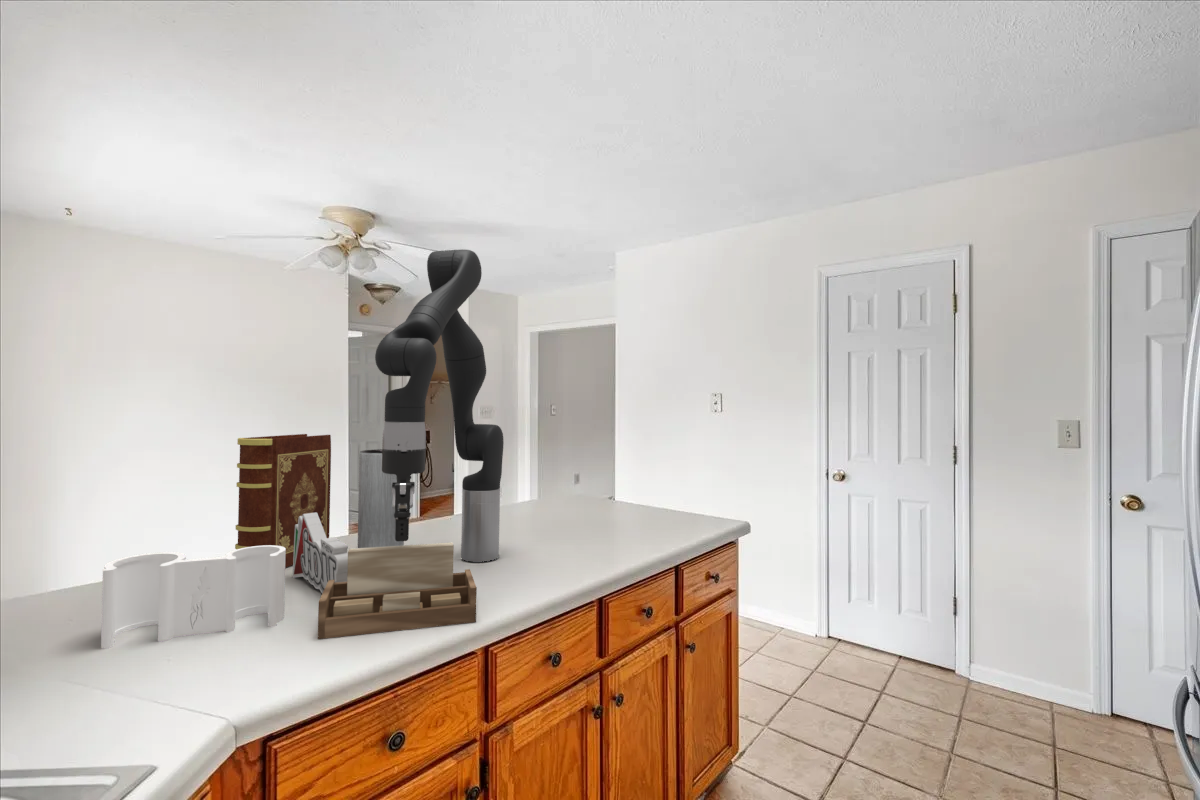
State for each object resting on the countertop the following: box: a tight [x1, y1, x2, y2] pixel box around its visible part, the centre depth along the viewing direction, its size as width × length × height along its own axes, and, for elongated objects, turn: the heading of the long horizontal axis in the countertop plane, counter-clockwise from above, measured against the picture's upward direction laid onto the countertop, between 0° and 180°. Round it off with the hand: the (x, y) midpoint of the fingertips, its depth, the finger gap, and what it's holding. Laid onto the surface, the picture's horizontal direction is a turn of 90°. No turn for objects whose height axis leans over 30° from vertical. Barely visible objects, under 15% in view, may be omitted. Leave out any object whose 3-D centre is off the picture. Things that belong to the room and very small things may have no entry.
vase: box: [357, 448, 405, 548], centre depth 130 cm, size 10×10×27 cm
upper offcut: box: [383, 592, 420, 611], centre depth 97 cm, size 3×6×2 cm, turn 107°
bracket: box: [100, 545, 286, 650], centre depth 94 cm, size 25×10×12 cm, turn 113°
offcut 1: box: [333, 598, 374, 617], centre depth 94 cm, size 3×6×4 cm, turn 109°
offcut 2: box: [431, 593, 461, 607], centre depth 99 cm, size 3×5×4 cm, turn 109°
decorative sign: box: [291, 512, 349, 594], centre depth 115 cm, size 23×3×15 cm, turn 47°
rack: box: [317, 568, 478, 640], centre depth 99 cm, size 12×25×6 cm, turn 109°
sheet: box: [347, 542, 455, 596], centre depth 102 cm, size 2×18×12 cm, turn 109°
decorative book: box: [234, 433, 332, 569], centre depth 132 cm, size 22×8×30 cm, turn 168°
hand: (402, 535), depth 102 cm, fingers open, 8 cm apart
